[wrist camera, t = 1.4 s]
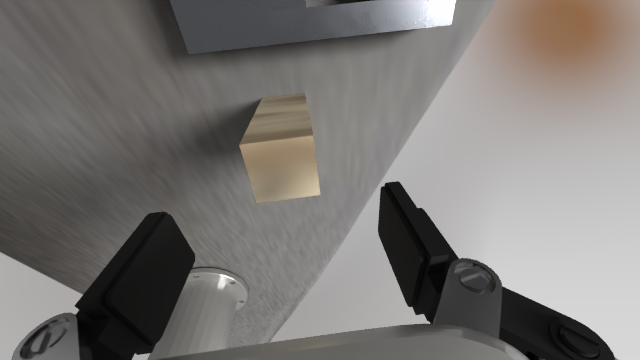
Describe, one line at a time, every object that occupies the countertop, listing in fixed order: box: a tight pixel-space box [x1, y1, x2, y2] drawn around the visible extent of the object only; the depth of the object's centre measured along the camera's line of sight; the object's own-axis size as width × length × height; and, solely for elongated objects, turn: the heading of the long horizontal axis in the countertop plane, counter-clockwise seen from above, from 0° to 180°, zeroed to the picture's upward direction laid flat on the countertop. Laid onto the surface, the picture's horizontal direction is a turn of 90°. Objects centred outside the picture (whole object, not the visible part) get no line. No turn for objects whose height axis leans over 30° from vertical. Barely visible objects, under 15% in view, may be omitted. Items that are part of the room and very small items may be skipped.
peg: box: [239, 93, 320, 203], centre depth 20 cm, size 4×4×12 cm
